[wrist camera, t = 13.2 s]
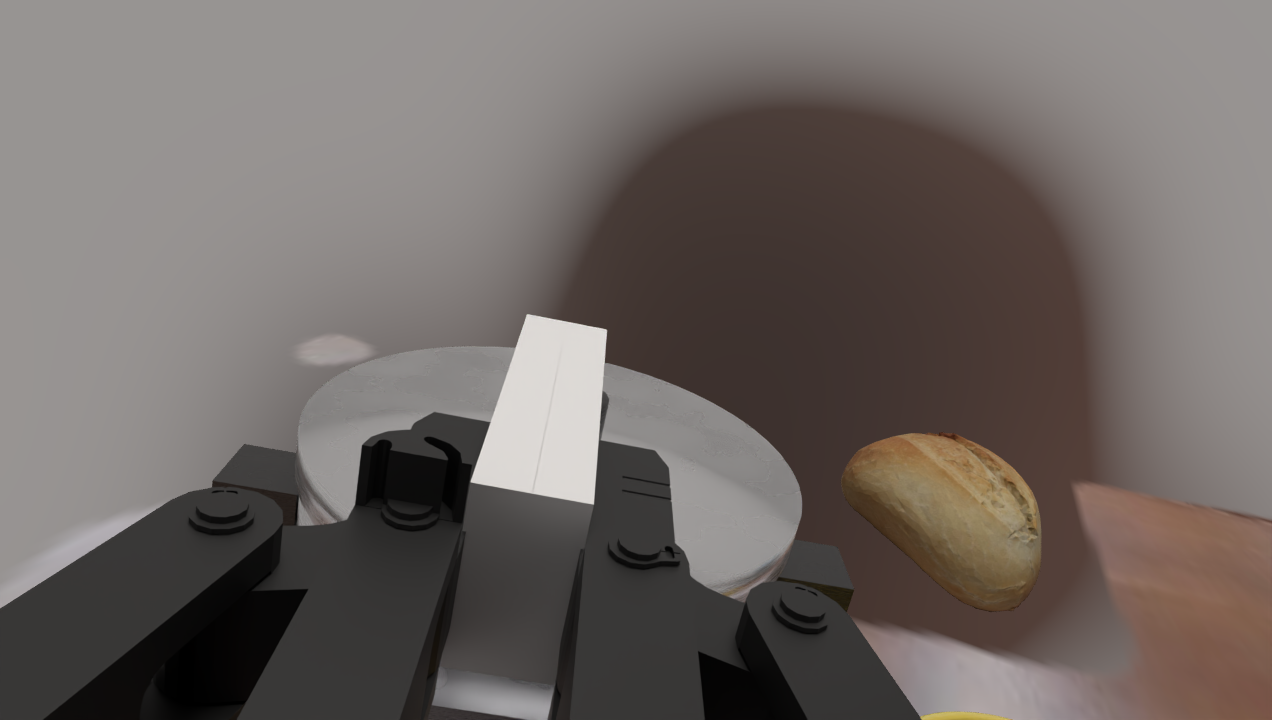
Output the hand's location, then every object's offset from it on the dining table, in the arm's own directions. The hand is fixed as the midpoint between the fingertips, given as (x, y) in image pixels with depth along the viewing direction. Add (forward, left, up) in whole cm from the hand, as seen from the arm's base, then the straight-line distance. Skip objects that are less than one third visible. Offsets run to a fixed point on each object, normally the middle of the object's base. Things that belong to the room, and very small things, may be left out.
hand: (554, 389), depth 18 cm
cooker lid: (-1, -16, -10) cm, 19 cm away
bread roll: (-26, -37, -23) cm, 51 cm away
